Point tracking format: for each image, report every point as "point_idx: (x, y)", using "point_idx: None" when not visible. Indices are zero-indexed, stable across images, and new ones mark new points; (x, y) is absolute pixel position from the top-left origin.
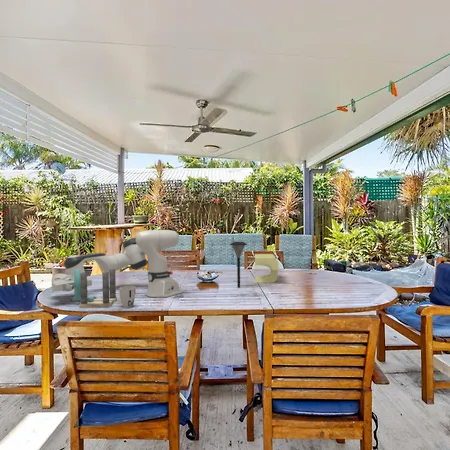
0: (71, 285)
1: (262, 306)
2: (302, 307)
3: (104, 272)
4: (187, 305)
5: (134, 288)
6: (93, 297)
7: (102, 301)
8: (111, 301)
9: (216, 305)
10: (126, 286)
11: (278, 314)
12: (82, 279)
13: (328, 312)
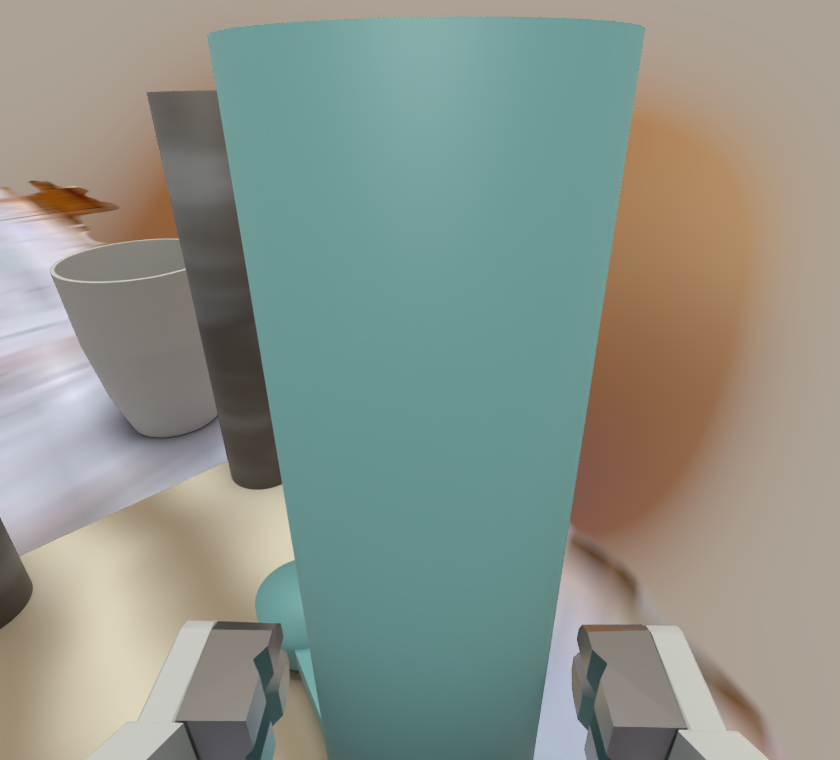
0: (658, 626)
1: (13, 224)
2: (9, 203)
3: (212, 91)
4: (47, 294)
5: (132, 248)
6: (282, 566)
7: (232, 534)
8: (185, 481)
9: (22, 261)
10: (73, 283)
11: (109, 203)
12: None
13: (57, 188)
